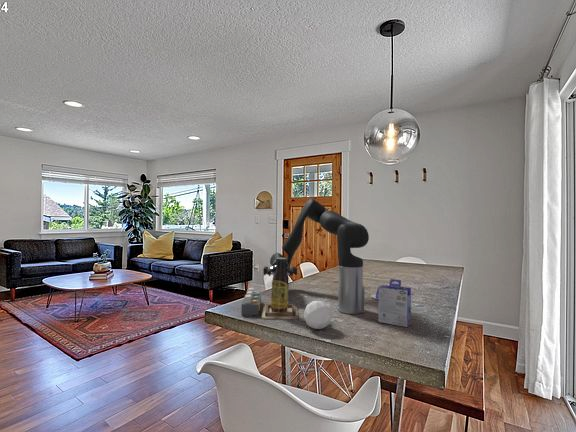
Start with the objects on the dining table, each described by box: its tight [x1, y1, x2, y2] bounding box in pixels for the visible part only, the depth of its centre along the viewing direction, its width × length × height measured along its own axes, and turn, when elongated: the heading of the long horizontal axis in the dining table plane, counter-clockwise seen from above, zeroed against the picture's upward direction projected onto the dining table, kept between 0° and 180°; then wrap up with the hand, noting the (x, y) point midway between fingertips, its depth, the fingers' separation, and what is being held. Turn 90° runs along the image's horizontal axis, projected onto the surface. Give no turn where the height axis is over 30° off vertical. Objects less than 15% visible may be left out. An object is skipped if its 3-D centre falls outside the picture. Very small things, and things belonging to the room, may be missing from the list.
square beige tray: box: [261, 303, 300, 320], centre depth 117 cm, size 13×14×2 cm
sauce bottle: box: [270, 257, 290, 312], centre depth 118 cm, size 7×6×20 cm
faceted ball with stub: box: [303, 300, 333, 330], centre depth 103 cm, size 9×9×12 cm
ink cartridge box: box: [377, 278, 412, 328], centre depth 107 cm, size 10×6×14 cm, turn 58°
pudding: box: [370, 285, 381, 300], centre depth 141 cm, size 12×12×5 cm
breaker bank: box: [240, 287, 262, 316], centre depth 123 cm, size 6×18×6 cm, turn 1°
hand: (280, 273), depth 128 cm, fingers open, 8 cm apart
